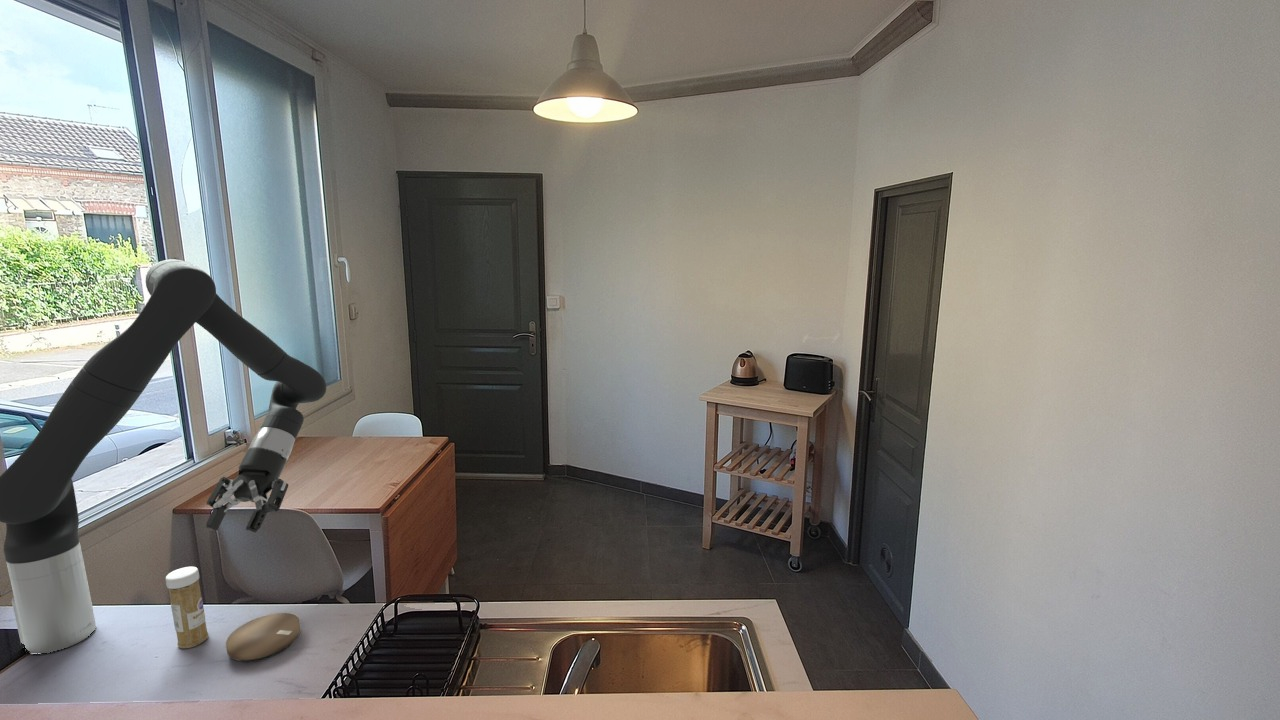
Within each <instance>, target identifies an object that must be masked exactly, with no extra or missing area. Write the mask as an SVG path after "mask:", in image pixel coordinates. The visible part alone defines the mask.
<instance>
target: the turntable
mask: <svg viewBox="0 0 1280 720" xmlns="http://www.w3.org/2000/svg"><path fill="white" fill-rule="evenodd" d="M301 630H302V629H301V622H300V618H299V616H298V615H296V614H293V613H290V612H279V613H278V612H277V613H270V614H266V615H263V616H262V615H261V616H260V617H257V618H255V619H251V620H250V621H247V622H246V623H244V624H242V625H241V626H239V627H237V628H236V629H235V630H233V631H232V632H231V633H230V634H229V635H228V637H227V639H226V641H225V648H226V653H227V656H228V657H229V658H231V659H233V660H237V661H239V660H252V659H257V658H261V657H265V656H268V655H270V654H273V653H275V652H277V651H279V650H281V649H283V648H285V647H286V646H288V645H289V644H291V643H292V642H293V643H294V641H295V640H296V639H297V638H298V637H299V635H300V633H301ZM293 643H292V644H293ZM292 644H291V645H292Z"/></svg>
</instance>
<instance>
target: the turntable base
mask: <svg viewBox="0 0 1280 720" xmlns="http://www.w3.org/2000/svg"><path fill="white" fill-rule="evenodd" d="M293 643H294V641H293V642H292V643H291V644H289V645H288V646H286V647H285V648H283V649H281V650H279V651H277V652H275V653H273V654H270V655H268V656H265V657H261V658H257V659H252V660H238V661H240V662H243V663H255V662H259V661H260V662H261V661H264V660H267V659H269V658H272V657H275V656H277V655H279V654H280V653H282V652H284V651H285V650H287V649H288V648H289V647H290V646H292V644H293Z"/></svg>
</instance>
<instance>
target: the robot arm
mask: <svg viewBox="0 0 1280 720" xmlns="http://www.w3.org/2000/svg"><path fill="white" fill-rule="evenodd" d="M145 287H146V289H147V292H148V293H149V295H150V297H149V299H148V300H147V302H146V304H145V305H144V307H143V308H142V310H141V311H140V313H139V314H138V315H137V317H136V318H135V319H134V321H133V322H132V323H131V324H130V325H129V326H128V327H127V328H126V329H125V330H124V331H122V333H120V334H119V335H117V336H116V337H115V338H113V339H112V340H111V341H109V342H108V343H107V344H105V345H103V347H101V348H100V349H99V350H98V351H96V352H95V353H94V354H93V355H92V356H91V357H90V358H89V359H88V360H87V361H86V363H85V364H83V366H82V368H81V369H80V370H79V371H78V373H76V375H75V377H74V378H73V379H72V381H70V383H69V385H68V386H67V387H66V389H65V390H64V392H63V393H62V395H61V396H60V398H59V399H58V400H57V402H56V404H55V406H54V407H53V408H52V410H51V412H49V413H50V414H49V415H48V416H47V418H46V420H45V422H44V424H43V425H42V427H40V428H41V429H40V430H39V432H38V433H37V434H36V436H35V438H34V439H33V440H32V441H31V443H30V444H29V445H28V446H27V447H26V448H25V449H24V451H22V452H21V454H20V455H19V456H18V457H17V458H16V459H15V460H14V461H13V463H11V464H10V465H9V466H8V468H7V469H6V470H5V471H4V472H2V473H1V475H0V523H2V524H6V526H5V527H6V529H5V530H6V533H5V539H4V543H3V554H4V558H5V562H6V566H7V571H8V575H9V581H10V584H11V588H12V594H13V597H12V598H11V605H12V610H13V613H14V617H15V623H16V628H17V632H18V635H19V640H20V644H21V643H22V644H24V645H25V648H26V649H27V650H28V651H30V652H32V653H37V654H38V653H47V654H50V652H51V653H54V652H53V651H55V652H58V651H57V650H59V651H61V649H62V650H64V648H65V649H66V648H69V647H72V646H74V645H76V644H79V643H80V642H82V641H84V640H86V639H87V638H88V636H89V637H90V636H91V635H92V634H93V633H94V632H95V631H96V629H97V624H96V618H95V613H94V608H93V607H94V606H93V603H92V598H91V593H90V592H91V591H90V588H89V582H88V576H87V572H86V568H85V567H86V566H85V561H84V556H83V553H82V547H81V543H80V537H79V527H80V526H79V524H80V523H79V521H80V518H79V517H80V516H79V512H78V505H77V499H76V494H75V493H76V492H75V487H74V482H73V477H74V476H75V474H76V472H77V470H78V468H79V467H80V466H81V464H82V463H83V461H84V460H85V459H86V457H87V456H88V455H89V454H90V453H91V451H92V450H93V449H94V448H95V447H96V446H97V445H98V444H99V443H100V442H101V441H102V440H103V439H104V438H105V437H106V436H107V435H108V434H109V433H110V432H111V431H112V430H113V429H114V427H116V426H117V424H119V422H121V420H122V419H123V417H124V416H125V415H126V414H127V413H128V411H130V409H131V408H133V405H134V404H135V403H136V401H137V400H138V399H139V398H140V396H141V395H142V393H143V392H144V390H145V389H146V387H148V384H149V383H150V381H151V380H152V379H153V377H154V376H155V375H156V374H157V372H158V371H159V369H160V367H162V365H163V364H164V362H165V361H166V359H167V358H168V356H169V355H170V353H171V352H172V350H173V349H174V348H175V346H176V345H177V344H178V342H179V341H180V340H181V339H182V337H184V335H185V334H186V333H187V332H188V331H189V330H190V329H191V328H192V327H193V326H194V325H195V324H197V325H199V326H200V327H201V328H203V329H204V330H205V331H207V332H208V333H209V334H210V335H212V337H213V338H215V339H216V340H217V341H218V342H219V343H220V344H221V345H222V346H223V347H224V348H226V349H227V350H228V351H229V352H230V353H231V354H232V355H233V356H234V357H236V359H238V361H240V362H241V363H242V364H243V365H245V366H246V367H247V368H249V369H250V370H251V371H252V372H254V373H255V374H256V375H257V376H258V377H260V378H261V379H263V380H266V381H269V382H270V381H271V382H275V384H274V385H273V387H272V390H271V395H270V400H269V405H268V413H267V414H266V416H265V418H264V419H263V422H262V424H261V426H260V428H259V429H258V431H257V433H256V434H255V435H254V437H253V439H252V441H250V442H251V443H250V445H249V446H248V448H247V450H246V452H245V454H244V456H243V458H242V460H241V462H240V463H239V466H238V475H237V476H236V477H235V478H234V479H231V478H228V477H226V476H222V477H221V478H220V479H219V480H218V482H217V484H216V486H215V487H214V489H213V490H212V493H211V494H210V495H209V497H208V499H207V501H206V505H207V506H210V507H211V508H212V509H213V510H212V511H211V514H210V515H209V517H208V519H207V521H206V528H207V529H208V530H211V531H212V532H213V531H218V530H219V529H220V526H221V524H222V522H223V520H224V518H225V516H226V513H227V512H228V511H229V510H230V509H231V508H232V507H234V506H237V505H239V504H240V503H248V502H250V503H254V505H255V509H256V510H253V512H252V514H251V516H250V519H249V521H248V523H247V525H246V526H245V530H246V531H248V532H249V533H251V534H253V533H254V534H255V533H257V532H258V530H259V529H260V528H261V527H262V525H263V522H264V521H265V519H266V516H267V515H268V514H270V513H271V512H278V511H279V510H280V508H281V506H282V503H283V501H284V498H285V495H286V493H287V491H288V488H289V483H287V482H286V481H285V480H283V479H281V478H280V477H281V475H282V472H283V470H284V469H285V466H286V464H287V462H288V460H289V457H290V455H291V453H292V451H293V448H294V445H295V441H296V439H297V437H298V435H299V433H300V432H301V431H300V430H301V428H302V425H303V423H304V415H303V414H302V412H301V411H300V410H298V408H297V407H298V405H300V404H305V403H307V404H308V403H314V402H317V401H319V400H321V399H322V398H323V397H324V396H325V395H326V392H327V383H326V381H325V378H324V377H323V376H322V374H321V373H320V372H318V370H316V369H315V368H313V367H311V366H310V365H308V364H307V363H304V362H303V361H301V360H299V359H297V358H295V357H293V356H291V355H290V354H288V353H287V352H286V351H285V350H284V349H282V347H280V345H278V344H277V343H276V342H275V341H273V340H272V338H270V337H269V336H268V335H266V334H265V333H264V332H262V330H260V329H258V328H257V327H256V326H255V325H254V324H252V323H251V322H250V321H248V320H247V319H245V318H244V317H243V316H242V315H241V314H239V313H238V312H237V311H235V310H234V309H233V308H232V307H231V306H229V305H228V304H227V303H226V302H225V300H223V299H222V298H221V297H220V296H219V294H218V293H217V287H216V284H215V282H214V280H213V278H212V277H211V276H210V274H208V273H207V272H205V271H204V270H203V269H201V268H199V267H198V266H197V265H195V264H193V263H191V262H189V261H186V260H180V259H164V260H161V261H158V262H156V263H154V264H153V265H152V266H151V267H150V268H149V269H148V271H147V272H146V275H145ZM270 491H271V492H270ZM268 493H270V494H269V495H268ZM233 496H234V497H233ZM95 628H96V629H95ZM94 630H95V631H94ZM93 631H94V632H93ZM92 632H93V633H92ZM91 633H92V634H91ZM90 634H91V635H90ZM26 649H25V650H26Z"/></svg>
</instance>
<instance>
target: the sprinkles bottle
mask: <svg viewBox="0 0 1280 720" xmlns="http://www.w3.org/2000/svg"><path fill="white" fill-rule="evenodd" d="M165 584H166V588H167V590H168V592H169V599H170V608H171V612H172V621H173V624H174V630H175V634H176V639H177V647H178V648H180V649H190V648H194V647H196V646H198V645H200V644H202V643H203V642H204V643H205V641H206V640H207V639H208V638H209V632H208V628H207V621H206V613H205V608H204V602H203V598H202V594H201V593H202V592H201V587H200V573H199V569H198V568H197V567H196V566H184V567H180V568H178V569H174V570H172V571H171V572H169V573H167V575H166V576H165Z"/></svg>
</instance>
